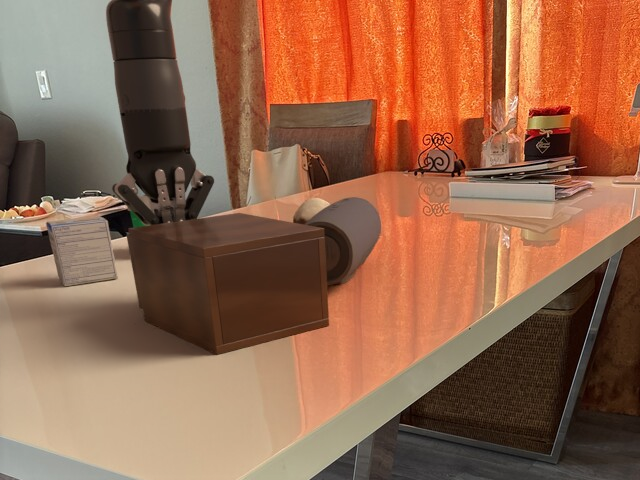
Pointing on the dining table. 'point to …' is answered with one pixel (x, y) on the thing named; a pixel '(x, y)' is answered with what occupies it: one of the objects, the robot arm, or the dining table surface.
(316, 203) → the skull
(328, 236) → the bluetooth speaker
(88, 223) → the medicine box
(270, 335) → the cabinet
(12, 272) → the dining table surface
